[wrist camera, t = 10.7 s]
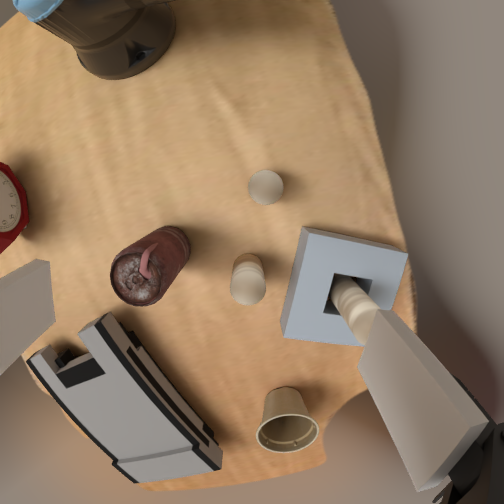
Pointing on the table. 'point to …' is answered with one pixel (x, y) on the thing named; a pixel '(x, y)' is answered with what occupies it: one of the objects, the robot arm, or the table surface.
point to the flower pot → (286, 422)
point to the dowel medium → (247, 280)
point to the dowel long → (353, 305)
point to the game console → (128, 405)
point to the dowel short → (265, 187)
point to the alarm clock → (11, 207)
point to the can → (149, 266)
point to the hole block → (320, 278)
